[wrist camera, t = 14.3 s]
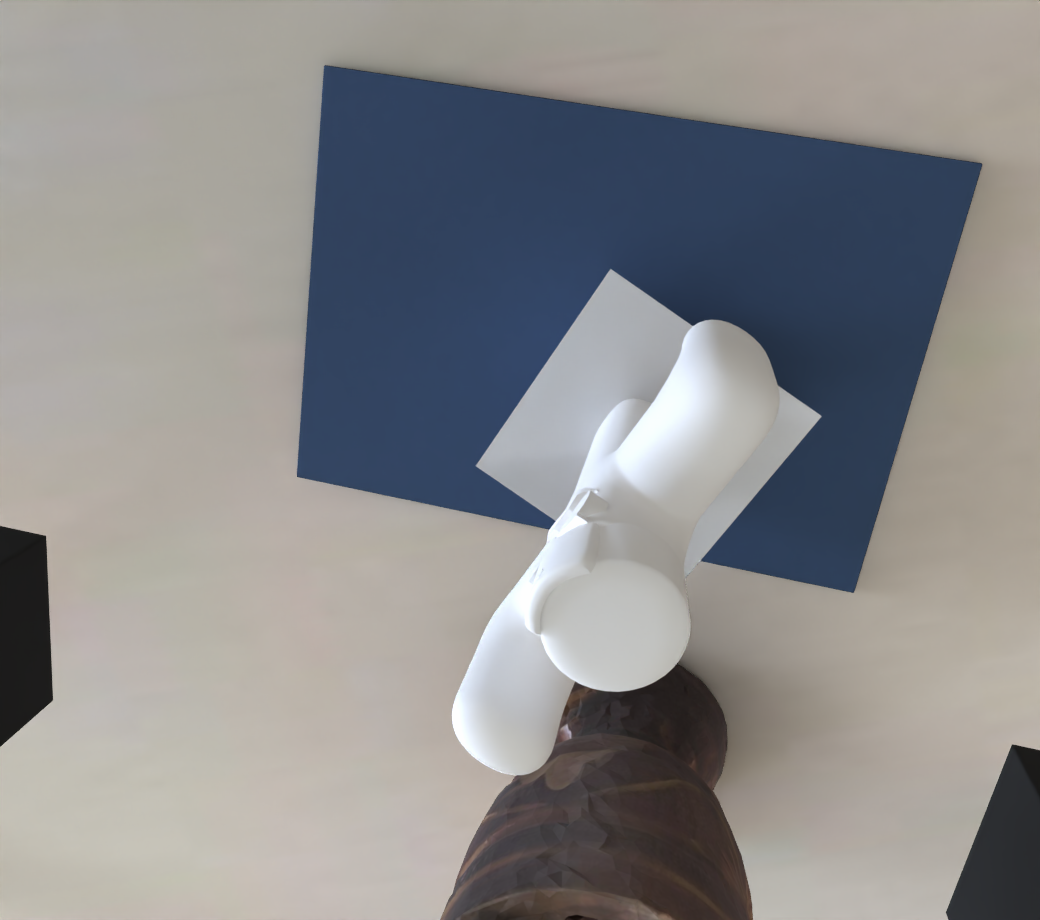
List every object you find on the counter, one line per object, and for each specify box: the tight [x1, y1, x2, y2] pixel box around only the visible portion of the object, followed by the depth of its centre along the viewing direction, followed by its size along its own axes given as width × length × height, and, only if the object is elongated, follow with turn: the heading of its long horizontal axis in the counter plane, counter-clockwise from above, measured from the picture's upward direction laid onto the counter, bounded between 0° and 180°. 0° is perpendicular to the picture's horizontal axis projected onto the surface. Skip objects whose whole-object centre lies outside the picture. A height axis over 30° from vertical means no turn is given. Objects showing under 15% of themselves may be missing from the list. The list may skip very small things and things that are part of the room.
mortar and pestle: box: [440, 664, 753, 920], centre depth 26 cm, size 12×9×20 cm
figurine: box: [452, 269, 822, 775], centre depth 24 cm, size 7×9×15 cm
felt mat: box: [297, 65, 982, 593], centre depth 30 cm, size 14×20×1 cm
